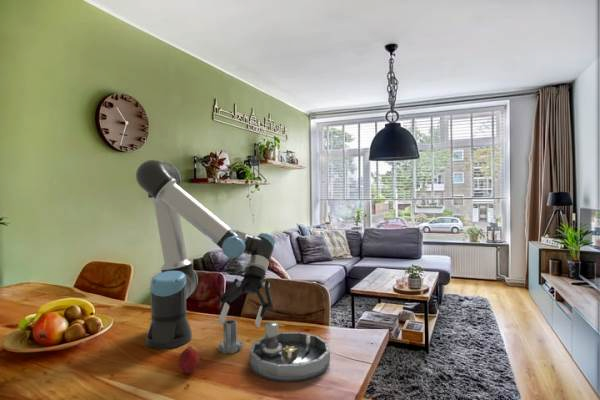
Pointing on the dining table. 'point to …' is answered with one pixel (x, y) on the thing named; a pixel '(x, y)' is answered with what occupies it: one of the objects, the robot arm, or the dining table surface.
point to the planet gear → (230, 338)
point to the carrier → (289, 355)
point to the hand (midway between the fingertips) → (238, 324)
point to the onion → (188, 360)
